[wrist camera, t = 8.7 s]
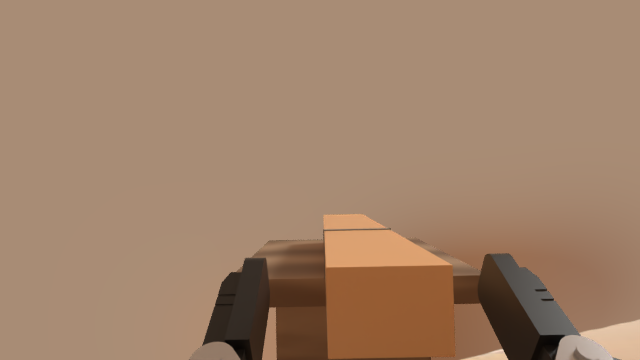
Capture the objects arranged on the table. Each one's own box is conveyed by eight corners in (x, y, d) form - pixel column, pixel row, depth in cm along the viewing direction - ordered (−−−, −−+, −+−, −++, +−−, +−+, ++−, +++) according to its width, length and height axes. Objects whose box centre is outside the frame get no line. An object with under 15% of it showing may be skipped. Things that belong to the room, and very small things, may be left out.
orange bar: (457, 358, 10) (454, 263, 11) (326, 360, 10) (324, 265, 11) (363, 242, 34) (362, 213, 35) (323, 243, 34) (322, 214, 35)
